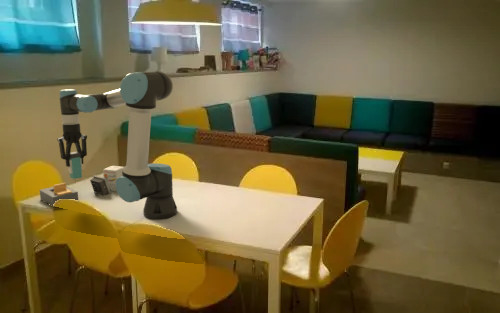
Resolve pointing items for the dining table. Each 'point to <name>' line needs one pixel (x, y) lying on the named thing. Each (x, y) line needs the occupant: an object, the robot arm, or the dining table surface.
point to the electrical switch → (100, 185)
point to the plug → (75, 165)
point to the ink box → (112, 176)
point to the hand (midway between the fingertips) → (75, 171)
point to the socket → (51, 197)
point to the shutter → (61, 189)
